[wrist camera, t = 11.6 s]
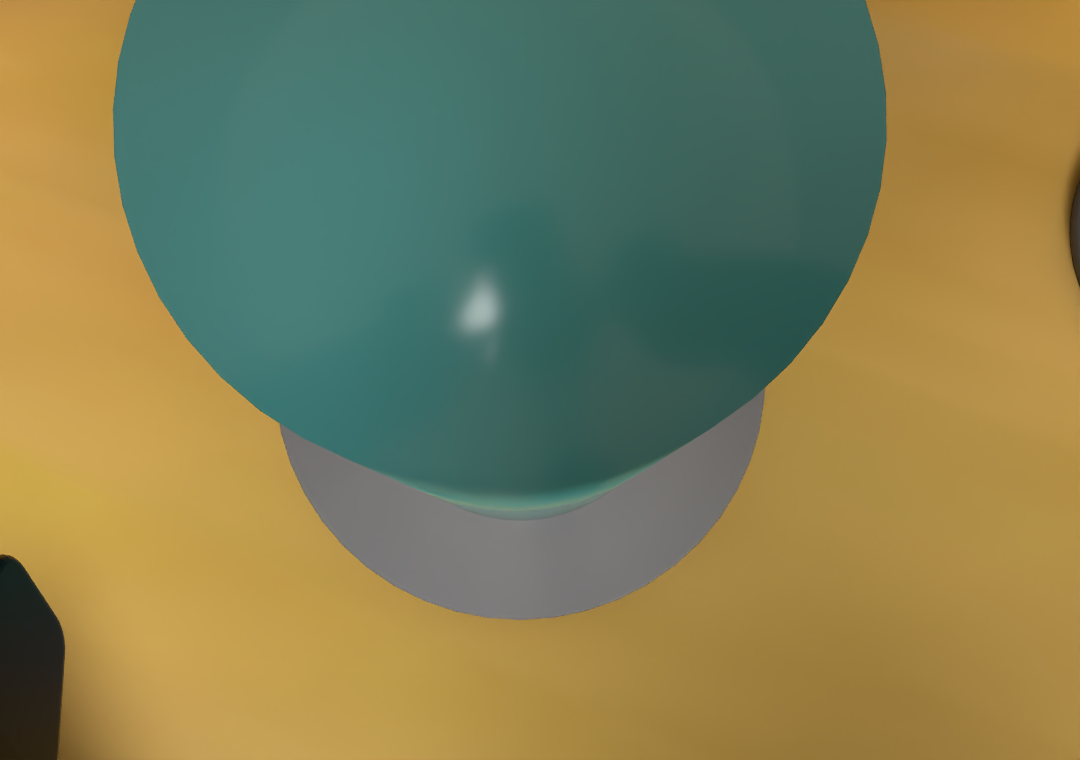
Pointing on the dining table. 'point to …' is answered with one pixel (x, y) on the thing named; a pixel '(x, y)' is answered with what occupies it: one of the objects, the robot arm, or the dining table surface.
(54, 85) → the dining table surface
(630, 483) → the plate
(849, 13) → the teal rounded block
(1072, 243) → the coaster
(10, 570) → the robot arm
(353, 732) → the dining table surface
